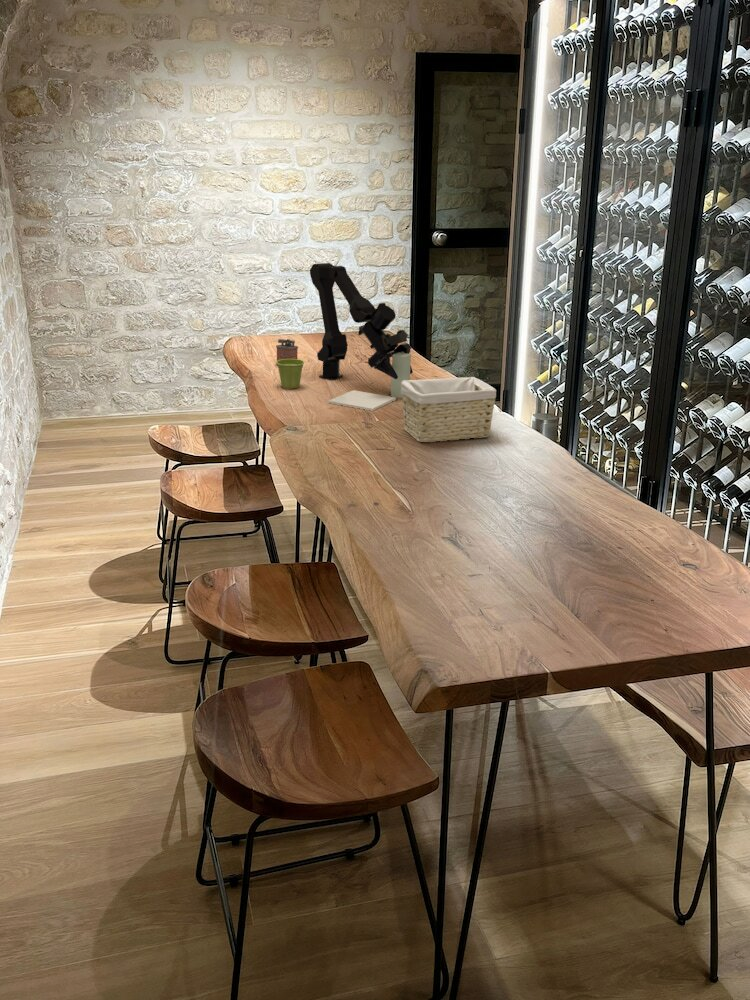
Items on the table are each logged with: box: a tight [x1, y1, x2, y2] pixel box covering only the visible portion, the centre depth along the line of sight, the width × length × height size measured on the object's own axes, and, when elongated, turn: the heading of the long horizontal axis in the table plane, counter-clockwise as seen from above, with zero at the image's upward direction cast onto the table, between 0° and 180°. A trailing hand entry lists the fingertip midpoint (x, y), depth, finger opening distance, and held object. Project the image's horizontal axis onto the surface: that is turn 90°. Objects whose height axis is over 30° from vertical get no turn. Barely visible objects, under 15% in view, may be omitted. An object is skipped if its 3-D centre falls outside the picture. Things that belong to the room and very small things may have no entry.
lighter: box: [275, 338, 299, 367], centre depth 320 cm, size 8×3×10 cm, turn 84°
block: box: [390, 352, 412, 399], centre depth 285 cm, size 4×4×14 cm
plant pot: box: [275, 358, 305, 390], centre depth 292 cm, size 9×9×9 cm
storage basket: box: [401, 376, 497, 443], centre depth 248 cm, size 24×16×15 cm
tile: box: [327, 389, 397, 412], centre depth 279 cm, size 16×16×1 cm
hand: (404, 375), depth 284 cm, fingers open, 9 cm apart
